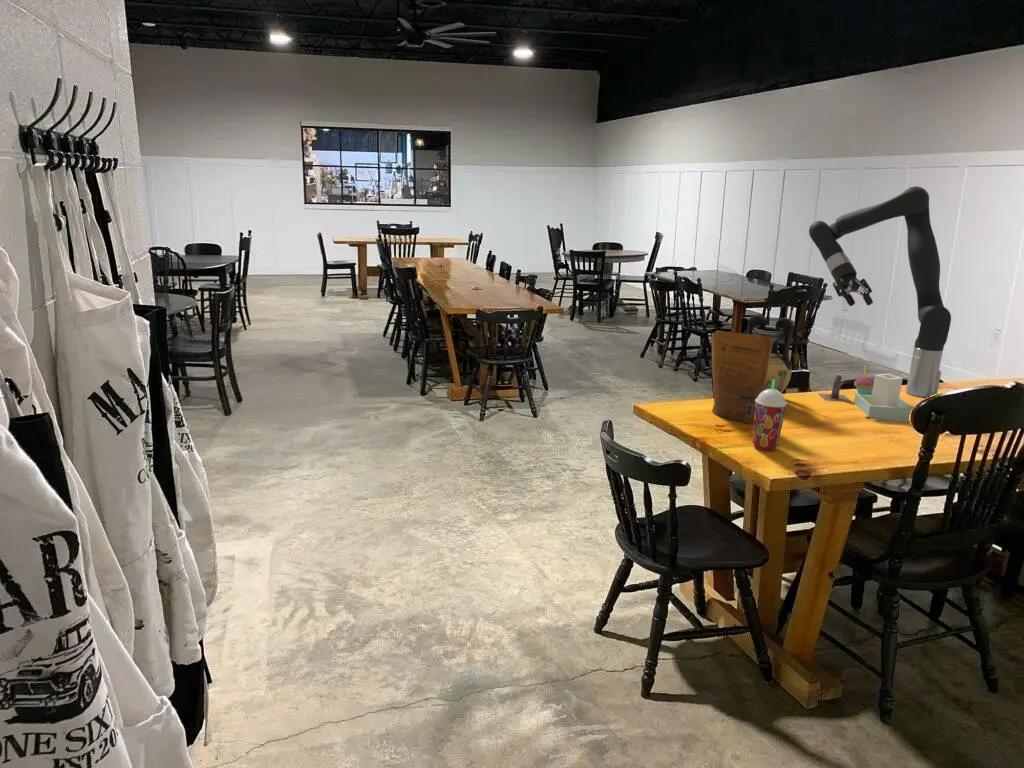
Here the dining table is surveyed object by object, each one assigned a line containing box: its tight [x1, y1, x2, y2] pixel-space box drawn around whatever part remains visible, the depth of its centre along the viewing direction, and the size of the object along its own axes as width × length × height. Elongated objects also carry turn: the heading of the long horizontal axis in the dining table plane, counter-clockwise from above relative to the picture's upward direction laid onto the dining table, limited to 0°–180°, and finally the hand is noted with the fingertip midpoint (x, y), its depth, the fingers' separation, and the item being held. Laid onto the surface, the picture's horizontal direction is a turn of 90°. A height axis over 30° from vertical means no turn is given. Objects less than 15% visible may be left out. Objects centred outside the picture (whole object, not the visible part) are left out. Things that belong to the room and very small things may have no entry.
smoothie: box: [752, 379, 788, 452], centre depth 203 cm, size 8×8×20 cm
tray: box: [853, 393, 915, 423], centre depth 241 cm, size 14×14×4 cm
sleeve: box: [870, 373, 904, 407], centre depth 239 cm, size 6×6×12 cm
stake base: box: [817, 374, 853, 403], centre depth 254 cm, size 9×9×9 cm
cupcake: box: [853, 365, 875, 395], centre depth 261 cm, size 9×8×12 cm
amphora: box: [746, 314, 795, 394], centre depth 247 cm, size 18×17×30 cm
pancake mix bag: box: [710, 330, 773, 425], centre depth 227 cm, size 7×19×28 cm, turn 46°
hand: (861, 304), depth 257 cm, fingers open, 8 cm apart
